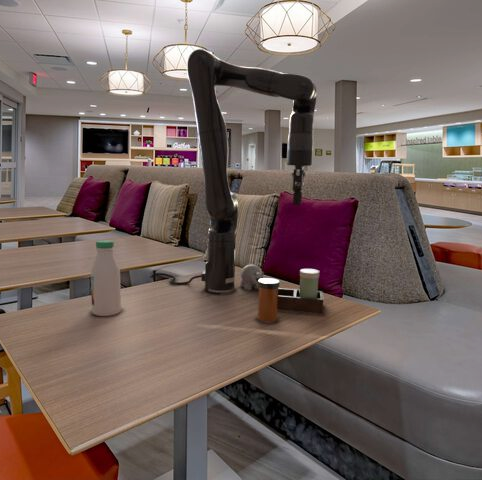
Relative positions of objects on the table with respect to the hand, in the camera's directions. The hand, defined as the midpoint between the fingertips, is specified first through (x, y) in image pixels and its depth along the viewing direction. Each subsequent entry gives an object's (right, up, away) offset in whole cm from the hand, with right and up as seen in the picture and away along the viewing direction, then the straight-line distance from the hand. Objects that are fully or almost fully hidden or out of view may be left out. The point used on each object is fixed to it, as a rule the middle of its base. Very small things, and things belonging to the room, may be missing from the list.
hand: (297, 204), depth 126 cm
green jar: (+2, -31, -4) cm, 31 cm away
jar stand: (-1, -31, -3) cm, 31 cm away
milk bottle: (-55, -31, -10) cm, 64 cm away
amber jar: (-10, -33, -13) cm, 37 cm away
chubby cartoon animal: (-12, -28, +13) cm, 34 cm away
